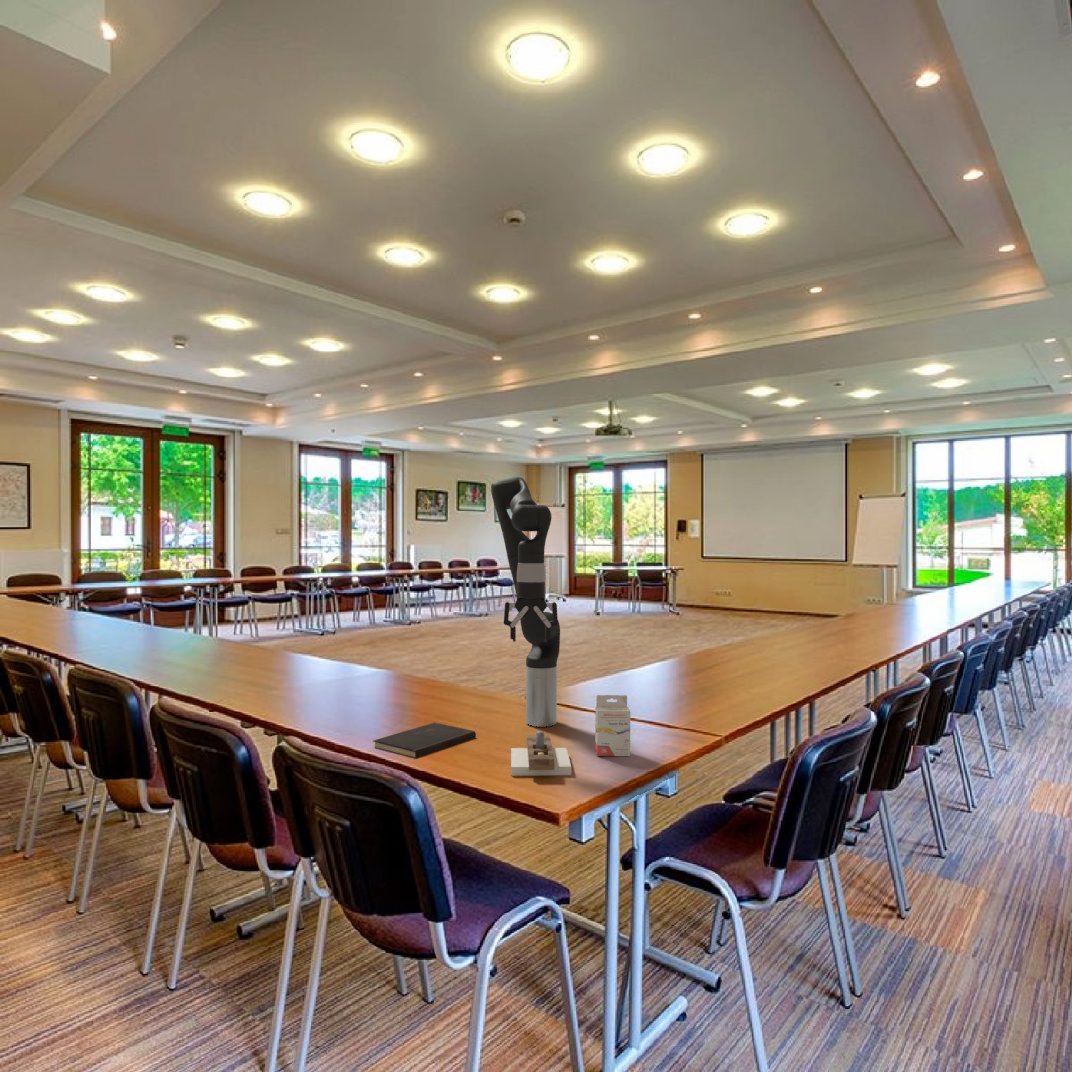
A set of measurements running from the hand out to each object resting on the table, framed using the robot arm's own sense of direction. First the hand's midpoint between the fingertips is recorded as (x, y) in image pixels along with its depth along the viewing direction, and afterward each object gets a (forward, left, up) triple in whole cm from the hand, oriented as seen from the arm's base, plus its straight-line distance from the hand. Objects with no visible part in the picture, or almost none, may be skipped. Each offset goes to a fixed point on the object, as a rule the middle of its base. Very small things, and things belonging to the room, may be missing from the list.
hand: (530, 641), depth 184 cm
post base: (+15, +2, -28) cm, 32 cm away
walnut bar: (+14, +2, -26) cm, 30 cm away
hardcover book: (-6, -28, -29) cm, 41 cm away
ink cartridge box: (+6, +21, -28) cm, 36 cm away
